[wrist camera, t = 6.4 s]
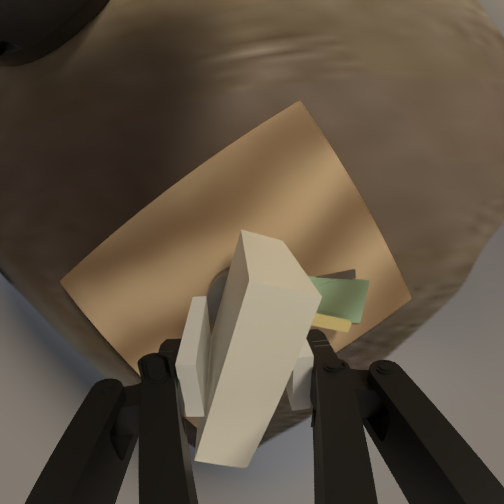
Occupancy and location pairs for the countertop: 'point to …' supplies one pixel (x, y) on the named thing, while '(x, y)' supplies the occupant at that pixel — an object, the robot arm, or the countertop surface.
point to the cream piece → (254, 345)
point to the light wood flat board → (226, 236)
